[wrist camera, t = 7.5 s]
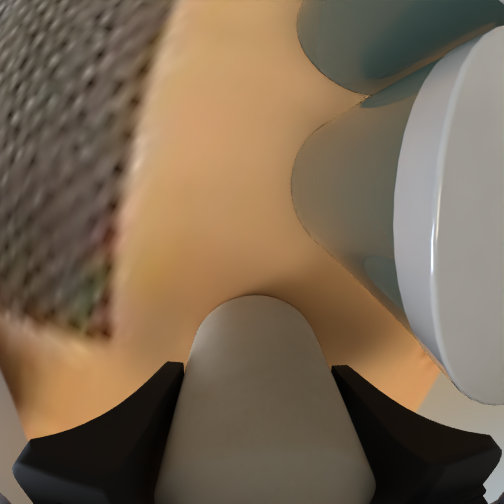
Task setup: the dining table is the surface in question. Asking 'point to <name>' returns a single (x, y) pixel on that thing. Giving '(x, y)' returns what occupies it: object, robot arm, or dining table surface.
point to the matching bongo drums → (415, 171)
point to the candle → (261, 416)
